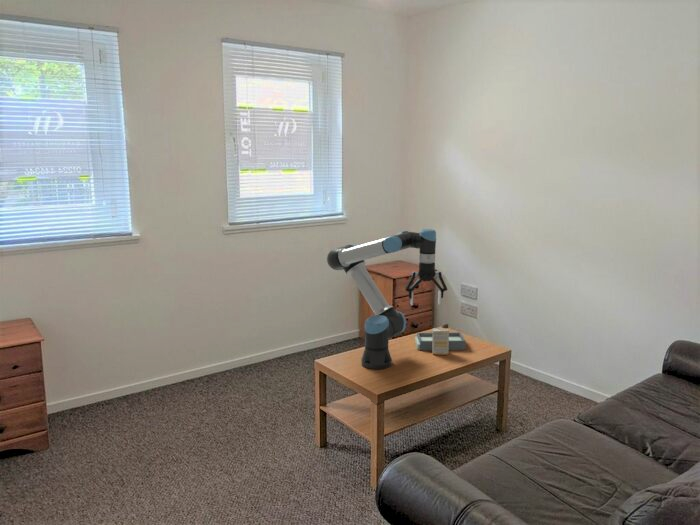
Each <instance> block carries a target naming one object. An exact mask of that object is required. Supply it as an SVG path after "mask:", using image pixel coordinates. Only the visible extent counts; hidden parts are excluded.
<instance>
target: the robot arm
mask: <svg viewBox="0 0 700 525" xmlns="http://www.w3.org/2000/svg"><path fill="white" fill-rule="evenodd" d="M436 244H437V232H436V230H435V229H432V228H431V229H430V228H423V229H421V230H420V231H419V232H414V231H409V230H403V231H402V230H401V231H399V232H398V233H397V234H395V235H389V236H387V237H384V238H380V239H377V240H374V241H370V242H369V241H368V242H366V243H362V244H360V245H357V244H346V245H344V246H340V247H336V248H333V249H331V250H330V251H329V253H328V254H327V257H326V262H327V265H328V266H329V268H331V269H332V270H335V271H342V270H343V272H345V274H346V276H347V275H348V276H350V277H351V278H352V280H353V281H354V282H355V285H356V286H357V287H358V289H359V291H360V292H361V294H362V296H363V297H364V299H365V300H366V302H367V304H368V305H369V307H370V308H371V310H372V311H373V313H374V315H371V316H369V317H368V318H366V319H365V322H364V350H363V353H362V356H361V358H360V359H361V365H362V367H365V369H370V370H383V369H388V368H389V367H392V364H393V359H392V356H391V352H390V350H389V340H390V339H392V338H394V337H396V336H399V335H400V334H401V333H403V332H404V331H405V330H406V326H407V319H406V317H405V315H404V313H403V312H401V311H398V310H396V309H395V307H394V306H393V305H389V303H388V301H387V300H386V298H385V296H384V295H383V293H382V292H381V290H380V289H379V287H378V286H377V284H376V282H375V281H374V279H373V277H372V276H371V275H370V273H369V270H367V268H366V261H365V260H369V259H372V258H373V259H374V258H377V257H380V256H385V255H387V254H391V253H393V254H394V253H396V252H399V251H402V250H406V249H409V248H410V249H411V248H413V249H418V250H419V257H418V260H419V263H418V271H414V270H413V271H412V272H411V277H410V278H409V280H408V282H407V284H406V286H405V287H404V290H405V291H406V292H408V299H410V303H409V304H410V306H414V290H415V289H416V288H417V287H418V286H419V285H420V283H422V281H423V282H431V281H432V282H433V283H434V285H435V286H436V287H437V288H438V289H439V290H438V292H437V293H438V294H437V296H438V298H437V304H438V306H441V305H442V299H443V298H444V292H446V291H448V287H447V285H446V283H445V281H444V278H443V277H442V276H443V275H442V272H441V271H440V270H437V271H436V263H435V262H436V247H437V246H436ZM417 276H418V278H417V279H416V277H417ZM435 276H437V277H438V280H439V281H440V283H441V284H439V283H438V282H437V280H436V279H435ZM415 279H416V280H415ZM414 280H415V282H414Z"/></svg>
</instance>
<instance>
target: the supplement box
mask: <svg viewBox="0 0 700 525" xmlns="http://www.w3.org/2000/svg"><path fill="white" fill-rule="evenodd" d="M449 331H450V330H449V328H448V329H447V328H442V327H440V328H439V327H437V328H436V327H433V328H432V332H431V333H432V350H431V351H432V355H438V356H442V355H443V356H447V355H448V356H449V353H450V352H449V351H450V350H449Z"/></svg>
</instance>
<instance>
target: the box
mask: <svg viewBox="0 0 700 525" xmlns="http://www.w3.org/2000/svg"><path fill="white" fill-rule="evenodd" d="M432 333H433V332H417V333H416V336H414V342H415V343H414V344H415V346H416V349H417V350H419V351H432ZM466 343H467V342H466V338H464V336H463V334H462V332H459V331H456V332H453V331H452V332H449V351H465V350H466V345H467V344H466Z"/></svg>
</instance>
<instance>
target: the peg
mask: <svg viewBox="0 0 700 525" xmlns="http://www.w3.org/2000/svg"><path fill="white" fill-rule="evenodd" d="M441 328H447V329H448V330H449V323H446V322H444V323H442V324H441Z"/></svg>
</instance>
